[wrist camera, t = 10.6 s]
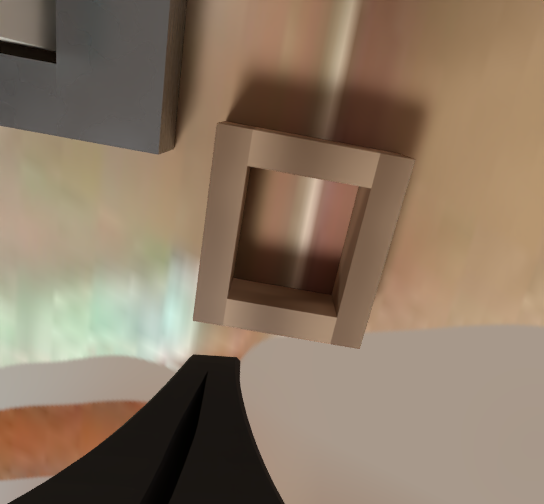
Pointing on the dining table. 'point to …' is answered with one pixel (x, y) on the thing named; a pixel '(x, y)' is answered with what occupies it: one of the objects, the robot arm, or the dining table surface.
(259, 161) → the frame
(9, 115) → the port
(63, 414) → the dining table surface
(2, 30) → the plug
